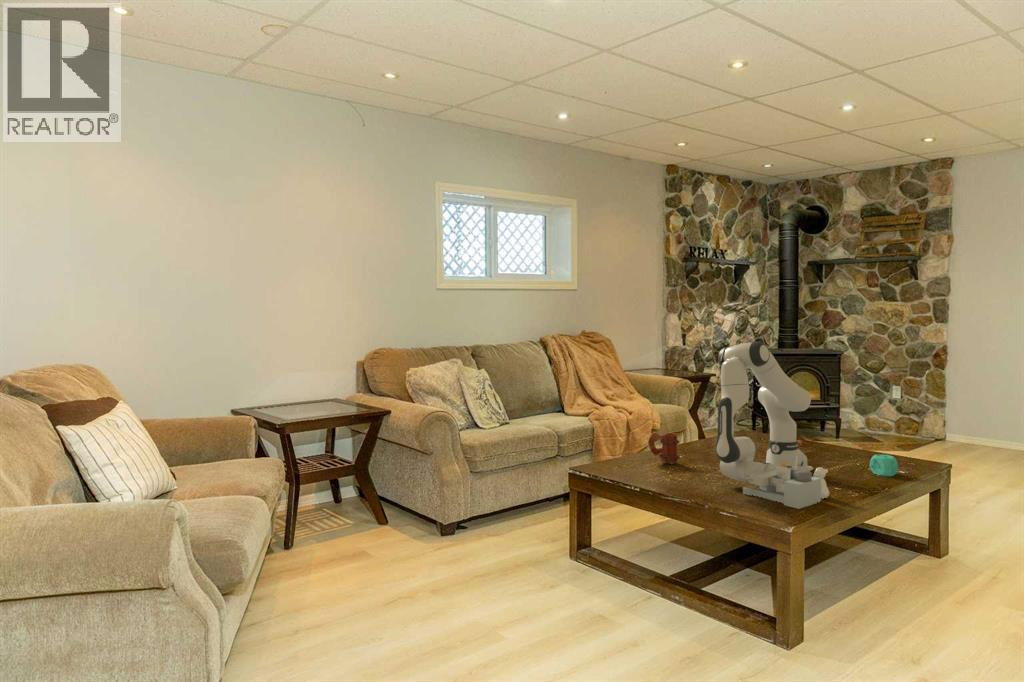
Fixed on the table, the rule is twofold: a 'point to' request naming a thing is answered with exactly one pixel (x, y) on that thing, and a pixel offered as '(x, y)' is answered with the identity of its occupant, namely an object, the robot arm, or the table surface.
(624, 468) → the table surface
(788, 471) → the block
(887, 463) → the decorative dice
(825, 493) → the white creature statuette
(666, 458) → the mug
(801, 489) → the bracket
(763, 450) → the table surface
